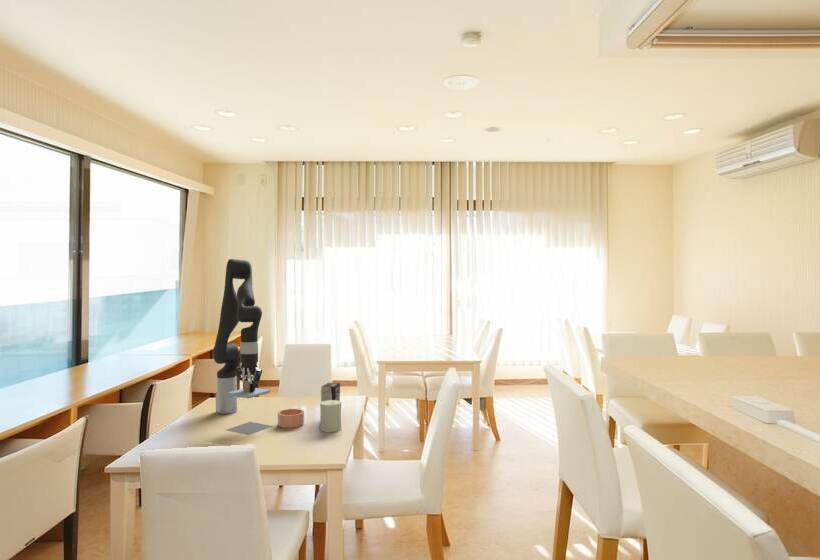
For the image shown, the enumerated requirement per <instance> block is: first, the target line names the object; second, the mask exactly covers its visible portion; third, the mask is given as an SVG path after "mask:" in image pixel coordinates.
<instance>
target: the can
mask: <svg viewBox="0 0 820 560" xmlns="http://www.w3.org/2000/svg"><path fill="white" fill-rule="evenodd" d="M319 404H320V405H319V406H320V408H319V409H320V424H319V425H320V427H319V429H320V431H321V432H325V433H333V432H334V431H335V432H338V431H341V430H342V401H341V400H340V401H338V400H326V401H322V402H321V401H320V403H319ZM340 429H341V430H340Z"/></svg>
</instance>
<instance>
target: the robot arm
mask: <svg viewBox="0 0 820 560" xmlns="http://www.w3.org/2000/svg"><path fill="white" fill-rule="evenodd" d="M224 276H225V279H224V287H223V288H224V290H223V297H222V302H221V306H220V307H221V308H220V309H221V310H220V314H219V323H218V328H217V334H216V338H215V343H214V346H213V352H212V357H213V360H214V362H215V363H216V364H219V365H220V364H221V365H222V364H224V366H223V367H222V368H220V369H219V370H217V373H216V392H215V412H216V413H217V414H221V415H229V414H234V413H236V412H237V411H238V397H237V396H231V395H228V392H232V391H236V390H238V379H239V381H241V382H242V389H243V391H244V381H247V380H250V383H251V384H250V392H254V391H255V388H256V383H258V382H260V380H261V376H262V374H263V369H259V367H258V362H259V343H258V341H259V340H258V338H259V337H258V336H259V335H258V333H259V332H258V331H259V327H260V323H261V319H262V316H263V310H262V308H261V307H260V306H259V305H256V304H255V303H256V300H255V295H254V291H253V269H252V263H251V262H250V261H249V260H245V259H235V258H229V259H228V260H227V263H226V267H225V275H224ZM235 279H236V280H244V281H243V282H242V283H241V285H239V287H238V289H237V290H236V289H235V288H234V280H235ZM236 291H237V292H236ZM239 322H240V323H252V324H251V325H250V326H247V327H243V328H242V329H241V330H240V346H239V347H238V345H237V344H236V343H232V342H230V343H228V342H229V339H230V336H231V335H232V333H233V331H234V330H235V328H236V327H237V326H238V324H239ZM239 363H240V364H241V365H240V366H239Z"/></svg>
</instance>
